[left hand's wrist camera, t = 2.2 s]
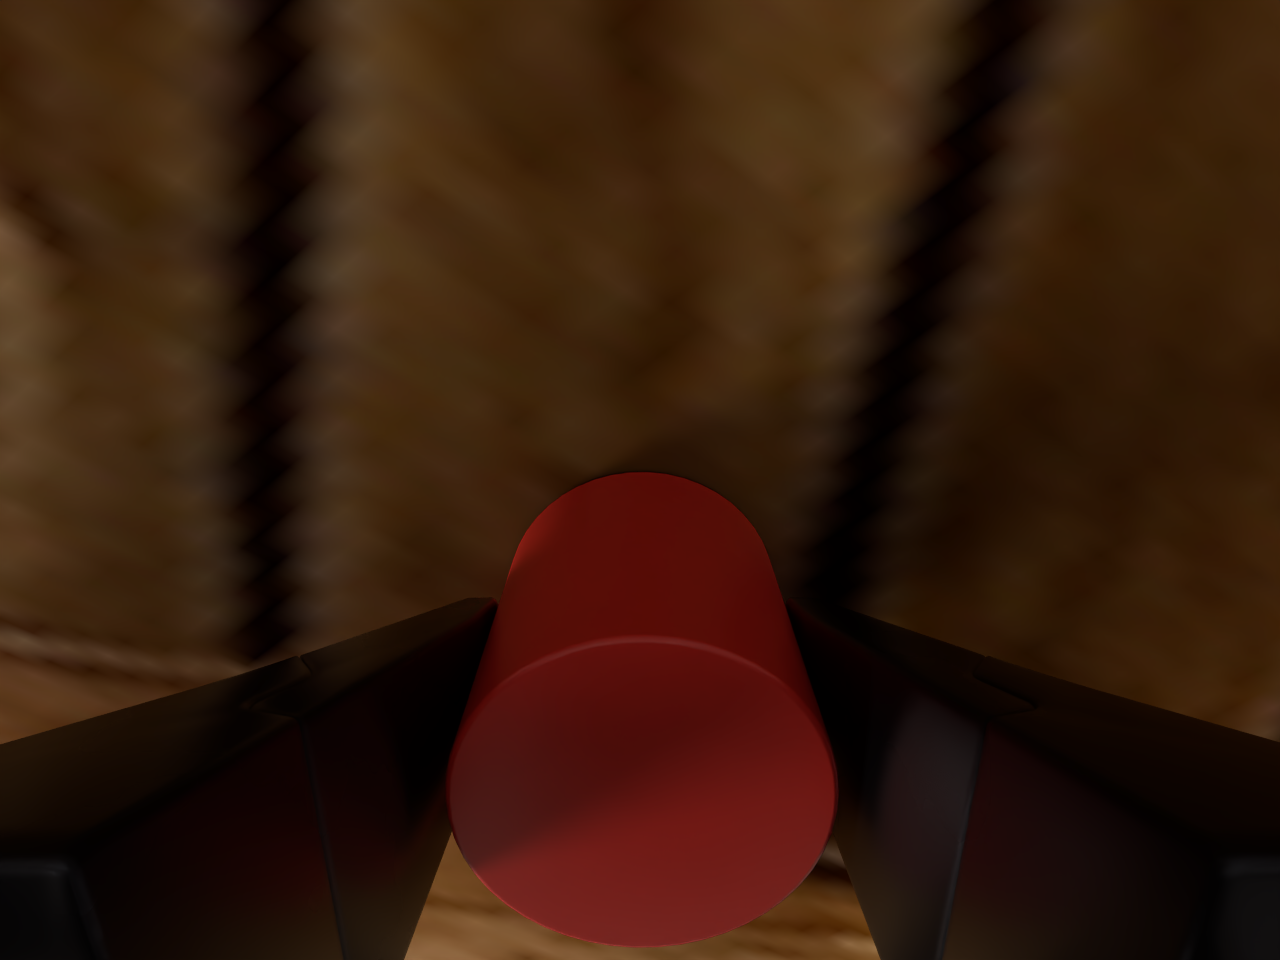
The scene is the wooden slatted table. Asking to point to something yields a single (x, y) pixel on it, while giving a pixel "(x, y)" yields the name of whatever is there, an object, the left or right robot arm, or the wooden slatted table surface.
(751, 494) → the wooden slatted table surface
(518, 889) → the red cylinder
